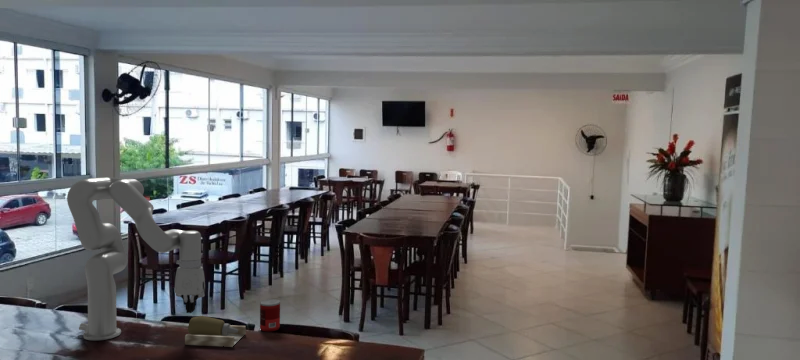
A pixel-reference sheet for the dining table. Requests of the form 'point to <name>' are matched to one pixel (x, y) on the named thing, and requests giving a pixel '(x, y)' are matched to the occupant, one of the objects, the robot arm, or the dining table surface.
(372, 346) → the dining table surface
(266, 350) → the dining table surface
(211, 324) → the squeeze bottle
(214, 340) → the cradle
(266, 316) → the canned food
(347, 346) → the dining table surface
